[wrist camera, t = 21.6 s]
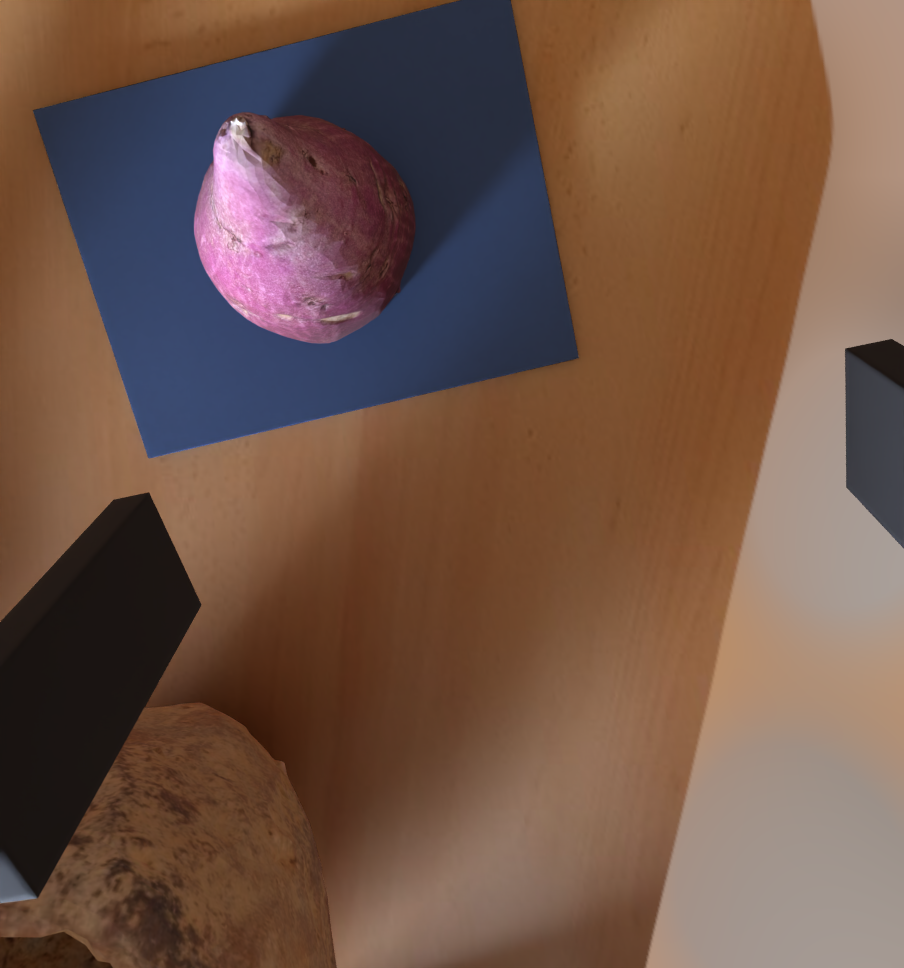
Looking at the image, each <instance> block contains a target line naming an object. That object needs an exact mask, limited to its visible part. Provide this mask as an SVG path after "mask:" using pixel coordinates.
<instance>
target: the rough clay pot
mask: <svg viewBox="0 0 904 968" xmlns="http://www.w3.org/2000/svg"><path fill="white" fill-rule="evenodd" d="M0 968H337V967H336V960H335V953H334V946H333V939H332V932H331V924H330V915H329V907H328V898H327V892H326V888H325V884H324V880H323V875H322V867H321V863H320V860H319V856H318V852H317V848H316V845H315V841H314V837H313V834H312V830H311V826H310V823H309V821H308V818H307V816H306V814H305V812H304V810H303V808H302V806H301V804H300V802H299V799H298V797H297V795H296V793H295V791H294V789H293V787H292V785H291V783H290V781H289V779H288V776H287V772H286V768H285V764H284V762H282V761H278V760H274V759H273V758H272V757H271V756H270V754H269V753H268V752H267V750H266V749H265V748H264V747H263V746H262V745H261V744H260V743H259V742H258V741H257V740H256V739H255V738H254V737H253V736H252V735H251V734H250V733H249V731H248V730H247V728H246V727H245V726H244V725H242V724H241V723H239V722H237V721H236V720H234V719H233V718H231V717H229V716H228V715H226V714H224V713H222V712H220V711H218V710H216V709H214V708H212V707H210V706H207V705H205V704H203V703H186V704H178V705H172V706H167V707H150V708H144V709H143V711H142V713H141V714H140V716H139V718H138V720H137V722H136V723H135V725H134V727H133V729H132V731H131V732H130V734H129V736H128V738H127V740H126V741H125V743H124V745H123V747H122V749H121V750H120V752H119V754H118V756H117V757H116V759H115V761H114V763H113V765H112V766H111V768H110V770H109V772H108V774H107V775H106V777H105V779H104V781H103V783H102V784H101V786H100V788H99V790H98V792H97V793H96V795H95V797H94V799H93V800H92V802H91V804H90V806H89V808H88V809H87V811H86V813H85V815H84V817H83V818H82V820H81V822H80V824H79V826H78V827H77V829H76V831H75V833H74V835H73V836H72V838H71V840H70V842H69V843H68V845H67V847H66V849H65V851H64V852H63V854H62V856H61V858H60V860H59V861H58V863H57V865H56V867H55V869H54V870H53V872H52V874H51V876H50V878H49V879H48V881H47V883H46V885H45V886H44V888H43V890H42V892H41V894H40V895H39V897H38V898H37V899H29V900H21V901H14V902H6V903H0Z"/></svg>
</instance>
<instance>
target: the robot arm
mask: <svg viewBox="0 0 904 968" xmlns="http://www.w3.org/2000/svg"><path fill="white" fill-rule="evenodd" d="M845 372H846V374H845V376H846V487H847V488H848V489H849V490H850V492H851V493H852V494H853V495H854V496H855V497H856V498H857V499H858V500H859V501H860V502H861V503H862V504H863V505H864V506H865V508H866V509H867V510H868V511H869V512H870V513H871V514H872V515H873V516H874V517H875V518H876V519H877V520H878V521H879V522H880V524H881V525H882V526H883V527H884V528H885V529H886V530H887V531H888V532H889V533H890V534H891V535H892V536H893V537H894V538H895V540H896V541H897V542H898V543H899V544H900V545H901V546H902V547H903V548H904V346H903V345H901V344H899V343H898V342H896V341H894V340H893V339H890V340H885V341H880V342H875V343H871V344H866V345H860V346H856V347H851V348H846V349H845ZM200 607H201V603H200V601H199V598H198V596H197V594H196V592H195V590H194V588H193V586H192V583H191V581H190V579H189V577H188V575H187V573H186V571H185V568H184V566H183V564H182V562H181V560H180V558H179V556H178V553H177V551H176V549H175V547H174V545H173V543H172V541H171V538H170V536H169V534H168V532H167V530H166V528H165V526H164V523H163V521H162V519H161V517H160V515H159V513H158V511H157V508H156V506H155V504H154V502H153V500H152V498H151V495H150V493H144V494H139V495H134V496H129V497H125V498H120V499H115V500H113V501H112V502H111V503H110V504H109V505H108V506H107V507H106V508H105V510H104V511H103V512H102V513H101V514H100V515H99V516H98V517H97V518H96V519H95V520H94V521H93V523H92V524H91V525H90V526H89V527H88V528H87V529H86V530H85V531H84V532H83V533H82V534H81V536H80V537H79V538H78V539H77V540H76V541H75V542H74V543H73V544H72V545H71V546H70V547H69V548H68V550H67V551H66V552H65V553H64V554H63V555H62V556H61V557H60V558H59V559H58V560H57V561H56V563H55V564H54V565H53V566H52V567H51V568H50V569H49V570H48V571H47V572H46V573H45V574H44V575H43V577H42V578H41V579H40V580H39V581H38V582H37V583H36V584H35V585H34V586H33V587H32V588H31V590H30V591H29V592H28V593H27V594H26V595H25V596H24V597H23V598H22V599H21V600H20V601H19V603H18V604H17V605H16V606H15V607H14V608H13V609H12V610H11V611H10V612H9V613H8V614H7V615H6V617H5V618H4V619H3V620H2V621H1V622H0V903H6V902H14V901H21V900H29V899H37V898H38V897H39V895H40V894H41V892H42V890H43V888H44V886H45V885H46V883H47V881H48V879H49V878H50V876H51V874H52V872H53V870H54V869H55V867H56V865H57V863H58V861H59V860H60V858H61V856H62V854H63V852H64V851H65V849H66V847H67V845H68V843H69V842H70V840H71V838H72V836H73V835H74V833H75V831H76V829H77V827H78V826H79V824H80V822H81V820H82V818H83V817H84V815H85V813H86V811H87V809H88V808H89V806H90V804H91V802H92V800H93V799H94V797H95V795H96V793H97V792H98V790H99V788H100V786H101V784H102V783H103V781H104V779H105V777H106V775H107V774H108V772H109V770H110V768H111V766H112V765H113V763H114V761H115V759H116V757H117V756H118V754H119V752H120V750H121V749H122V747H123V745H124V743H125V741H126V740H127V738H128V736H129V734H130V732H131V731H132V729H133V727H134V725H135V723H136V722H137V720H138V718H139V716H140V714H141V713H142V711H143V709H144V707H145V706H146V704H147V702H148V700H149V698H150V697H151V695H152V693H153V691H154V689H155V688H156V686H157V684H158V682H159V680H160V679H161V677H162V675H163V673H164V671H165V670H166V668H167V666H168V664H169V662H170V661H171V659H172V657H173V655H174V654H175V652H176V650H177V648H178V646H179V645H180V643H181V641H182V639H183V637H184V636H185V634H186V632H187V630H188V628H189V627H190V625H191V623H192V621H193V619H194V618H195V616H196V614H197V612H198V611H199V609H200Z"/></svg>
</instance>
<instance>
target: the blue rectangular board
mask: <svg viewBox="0 0 904 968" xmlns="http://www.w3.org/2000/svg"><path fill="white" fill-rule="evenodd" d="M33 112H34V115H35V118H36V121H37V124H38V127H39V130H40V133H41V136H42V139H43V142H44V145H45V148H46V151H47V154H48V157H49V160H50V163H51V166H52V169H53V173H54V176H55V179H56V182H57V185H58V188H59V191H60V194H61V197H62V200H63V203H64V206H65V209H66V212H67V215H68V218H69V221H70V224H71V227H72V230H73V233H74V236H75V239H76V242H77V245H78V248H79V251H80V254H81V257H82V260H83V263H84V266H85V269H86V272H87V275H88V278H89V281H90V284H91V287H92V290H93V293H94V296H95V299H96V302H97V305H98V308H99V311H100V314H101V317H102V320H103V323H104V326H105V329H106V332H107V335H108V338H109V341H110V344H111V347H112V350H113V353H114V356H115V359H116V362H117V365H118V368H119V371H120V374H121V377H122V380H123V383H124V386H125V389H126V392H127V395H128V398H129V401H130V404H131V407H132V410H133V413H134V416H135V419H136V422H137V425H138V428H139V431H140V434H141V437H142V440H143V443H144V446H145V449H146V452H147V455H148V458H153V457H157V456H162V455H166V454H170V453H175V452H179V451H183V450H187V449H192V448H196V447H200V446H205V445H209V444H213V443H217V442H222V441H226V440H230V439H235V438H239V437H243V436H247V435H252V434H256V433H260V432H265V431H269V430H273V429H277V428H282V427H286V426H290V425H295V424H299V423H303V422H307V421H312V420H316V419H320V418H325V417H329V416H333V415H337V414H342V413H346V412H350V411H355V410H359V409H363V408H367V407H372V406H376V405H380V404H385V403H389V402H393V401H397V400H402V399H406V398H410V397H415V396H419V395H423V394H427V393H432V392H436V391H440V390H444V389H449V388H453V387H457V386H462V385H466V384H470V383H474V382H479V381H483V380H487V379H492V378H496V377H500V376H504V375H509V374H513V373H517V372H522V371H526V370H530V369H534V368H539V367H543V366H547V365H552V364H556V363H560V362H564V361H569V360H573V359H577V358H579V356H578V351H577V346H576V340H575V335H574V330H573V325H572V319H571V314H570V309H569V304H568V298H567V293H566V288H565V283H564V278H563V272H562V267H561V262H560V257H559V251H558V246H557V241H556V236H555V230H554V225H553V220H552V215H551V209H550V204H549V199H548V194H547V188H546V183H545V178H544V173H543V168H542V162H541V157H540V152H539V147H538V141H537V136H536V131H535V126H534V120H533V115H532V110H531V105H530V99H529V94H528V89H527V84H526V78H525V73H524V68H523V63H522V58H521V52H520V47H519V42H518V37H517V31H516V26H515V21H514V16H513V10H512V5H511V0H460V1H456V2H452V3H448V4H444V5H440V6H436V7H432V8H428V9H425V10H421V11H417V12H413V13H409V14H405V15H401V16H397V17H394V18H390V19H386V20H382V21H378V22H374V23H370V24H366V25H362V26H359V27H355V28H351V29H347V30H343V31H339V32H335V33H331V34H328V35H324V36H320V37H316V38H312V39H308V40H304V41H300V42H296V43H293V44H289V45H285V46H281V47H277V48H273V49H269V50H265V51H261V52H258V53H254V54H250V55H246V56H242V57H238V58H234V59H230V60H227V61H223V62H219V63H215V64H211V65H207V66H203V67H199V68H195V69H192V70H188V71H184V72H180V73H176V74H172V75H168V76H164V77H161V78H157V79H153V80H149V81H145V82H141V83H137V84H133V85H129V86H126V87H122V88H118V89H114V90H110V91H106V92H102V93H98V94H95V95H91V96H87V97H83V98H79V99H75V100H71V101H67V102H63V103H60V104H56V105H52V106H48V107H44V108H40V109H36V110H33ZM242 112H250V113H254V114H258V115H267V116H268V117H269V118H270V119H273V118H277V117H286V116H295V115H304V116H309V117H315V118H320V119H323V120H326V121H328V122H330V123H333V124H335V125H337V126H339V127H341V128H345V129H346V130H347V131H349V132H352V133H353V134H355V135H356V136H358V137H360V138H361V139H363V140H364V141H366V142H367V143H368V144H370V145H371V146H372V147H373V148H374V149H375V150H376V151H377V152H378V153H379V154H380V155H381V156H382V157H383V158H384V159H386V160H387V161H388V162H389V163H390V164H391V165H392V166H393V167H394V168H395V169H396V171H397V172H398V174H399V175H400V177H401V178H402V180H403V181H404V183H405V185H406V186H407V188H408V191H409V193H410V196H411V198H412V201H413V206H414V213H415V223H416V229H415V237H414V242H413V247H412V251H411V254H410V258H409V261H408V263H407V267H406V269H405V271H404V274H403V277H402V279H401V284H400V293H396V295H394V296H393V298H392V299H391V300H390V301H389V303H388V304H387V305H386V307H385V309H384V310H383V311H382V312H381V314H380V315H379V316H378V317H377V318H375V319H374V320H372V321H370V322H369V323H368V324H366V325H364V326H363V327H361V328H360V329H358V330H356V331H354V332H352V333H350V334H348V335H347V336H345V337H343V338H341V339H339V340H337V341H335V342H331V343H322V344H319V343H309V342H304V341H299V340H296V339H292V338H288V337H285V336H282V335H279V334H277V333H274V332H271V331H269V330H266V329H264V328H262V327H259V326H257V325H256V324H254V323H252V322H251V321H249V320H248V319H246V318H245V317H244V316H242V315H241V314H240V313H239V312H238V311H237V310H235V309H234V308H233V307H232V306H231V305H230V304H229V303H228V301H227V300H226V299H225V298H224V297H223V295H222V294H221V293H220V292H219V291H218V289H217V288H216V286H215V285H214V283H213V282H212V280H211V279H210V277H209V276H208V274H207V272H206V270H205V268H204V266H203V264H202V261H201V259H200V256H199V252H198V248H197V244H196V240H195V235H194V217H195V211H196V205H197V201H198V196H199V193H200V190H201V187H202V183H203V180H204V177H205V174H206V172H207V170H208V168H209V166H210V164H211V163H212V162H213V160H214V156H213V148H214V142H215V139H216V136H217V134H218V131H219V129H220V128H221V126H222V125H223V123H224V122H225V121H226V120H227V119H228V118H229V117H230V116H232V115H234V114H238V113H242Z"/></svg>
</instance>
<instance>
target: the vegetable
mask: <svg viewBox="0 0 904 968" xmlns="http://www.w3.org/2000/svg"><path fill="white" fill-rule="evenodd" d="M213 156H214V160H213V162H212V163H211V164H210V166H209V168H208V170H207V172H206V174H205V177H204V180H203V183H202V187H201V190H200V193H199V196H198V201H197V205H196V211H195V217H194V235H195V240H196V244H197V248H198V252H199V256H200V259H201V261H202V264H203V266H204V268H205V270H206V272H207V274H208V276H209V277H210V279H211V280H212V282H213V283H214V285H215V286H216V288H217V289H218V291H219V292H220V293H221V294H222V295H223V297H224V298H225V299H226V300H227V301H228V303H229V304H230V305H231V306H232V307H233V308H234V309H235V310H237V311H238V312H239V313H240V314H241V315H242V316H244V317H245V318H246V319H248V320H249V321H251V322H252V323H254V324H256V325H257V326H259V327H262V328H264V329H266V330H269V331H271V332H274V333H277V334H279V335H282V336H285V337H288V338H292V339H296V340H299V341H304V342H309V343H319V344H322V343H331V342H335V341H337V340H339V339H341V338H343V337H345V336H347V335H348V334H350V333H352V332H354V331H356V330H358V329H360V328H361V327H363V326H364V325H366V324H368V323H369V322H370V321H372V320H374V319H375V318H377V317H378V316H379V315H380V314H381V312H382V311H383V310H384V309H385V307H386V305H387V304H388V303H389V301H390V300H391V299H392V298H393V296H394V295H396V293H400V284H401V279H402V277H403V274H404V271H405V269H406V267H407V263H408V261H409V258H410V254H411V251H412V247H413V242H414V237H415V229H416V223H415V213H414V206H413V201H412V198H411V196H410V193H409V191H408V188H407V186H406V185H405V183H404V181H403V180H402V178H401V177H400V175H399V174H398V172H397V171H396V169H395V168H394V167H393V166H392V165H391V164H390V163H389V162H388V161H387V160H386V159H384V158H383V157H382V156H381V155H380V154H379V153H378V152H377V151H376V150H375V149H374V148H373V147H372V146H371V145H370V144H368V143H367V142H366V141H364V140H363V139H361V138H360V137H358V136H356V135H355V134H353V133H352V132H349V131H347V130H346V129H345V128H341V127H339V126H337V125H335V124H333V123H330V122H328V121H326V120H323V119H320V118H315V117H309V116H304V115H295V116H286V117H277V118H273V119H270V118H269V117H268V116H267V115H258V114H254V113H250V112H242V113H238V114H234V115H232V116H230V117H229V118H228V119H227V120H226V121H225V122H224V123H223V125H222V126H221V128H220V129H219V131H218V134H217V136H216V139H215V142H214V148H213Z"/></svg>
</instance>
